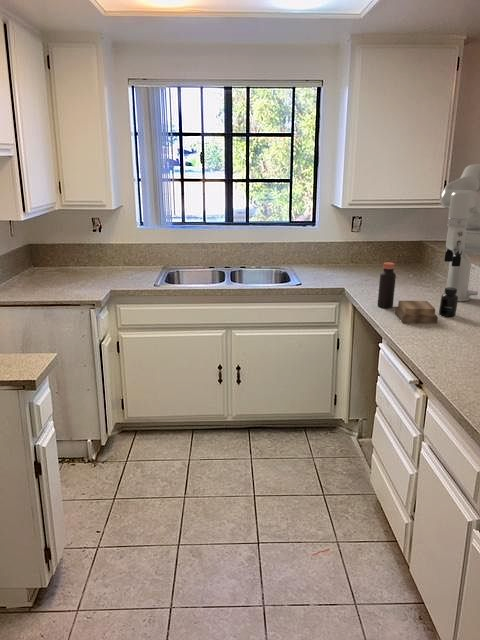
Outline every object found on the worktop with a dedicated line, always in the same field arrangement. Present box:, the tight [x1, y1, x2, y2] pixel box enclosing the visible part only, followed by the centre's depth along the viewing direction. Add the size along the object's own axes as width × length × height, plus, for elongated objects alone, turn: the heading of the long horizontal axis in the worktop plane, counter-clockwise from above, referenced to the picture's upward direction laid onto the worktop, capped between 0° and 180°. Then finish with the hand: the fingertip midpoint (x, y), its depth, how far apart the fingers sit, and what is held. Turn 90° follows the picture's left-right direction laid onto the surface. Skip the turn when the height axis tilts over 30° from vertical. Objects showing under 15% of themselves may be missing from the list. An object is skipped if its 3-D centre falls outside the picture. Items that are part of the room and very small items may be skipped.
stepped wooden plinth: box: [394, 300, 438, 324], centre depth 219 cm, size 14×14×6 cm
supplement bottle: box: [438, 286, 459, 318], centre depth 223 cm, size 7×7×12 cm
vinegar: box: [377, 261, 397, 309], centre depth 234 cm, size 7×7×20 cm
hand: (451, 263), depth 218 cm, fingers open, 9 cm apart
